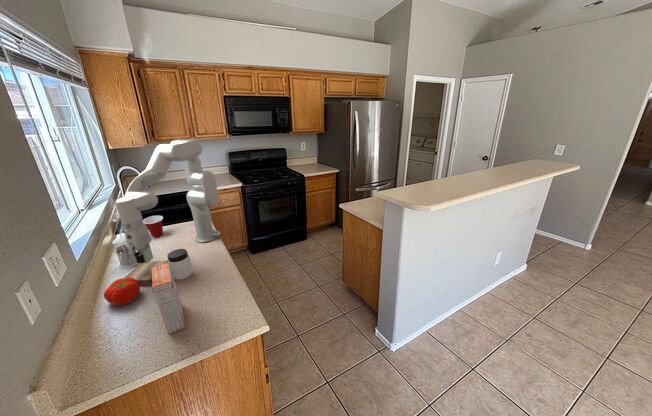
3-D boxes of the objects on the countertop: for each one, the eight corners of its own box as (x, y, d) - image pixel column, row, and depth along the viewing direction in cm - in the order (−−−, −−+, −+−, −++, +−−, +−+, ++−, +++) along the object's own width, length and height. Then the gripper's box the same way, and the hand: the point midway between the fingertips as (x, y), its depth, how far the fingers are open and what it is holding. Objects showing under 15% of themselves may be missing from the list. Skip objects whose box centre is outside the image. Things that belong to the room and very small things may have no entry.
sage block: (153, 257, 126) (149, 246, 124) (147, 263, 121) (143, 251, 119) (142, 258, 126) (139, 247, 123) (136, 263, 121) (132, 252, 119)
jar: (168, 277, 124) (162, 256, 120) (182, 268, 131) (176, 247, 127) (183, 281, 122) (177, 258, 117) (196, 271, 129) (191, 249, 124)
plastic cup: (147, 241, 159) (142, 223, 155) (147, 235, 168) (142, 218, 164) (168, 236, 165) (163, 219, 161) (166, 230, 173) (162, 214, 169)
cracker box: (165, 311, 103) (150, 267, 96) (182, 305, 106) (169, 261, 99) (167, 335, 92) (151, 287, 84) (186, 328, 95) (172, 280, 87)
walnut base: (174, 265, 134) (173, 260, 133) (158, 284, 119) (156, 279, 118) (142, 267, 133) (140, 262, 132) (122, 287, 119) (120, 281, 118)
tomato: (113, 294, 114) (106, 278, 111) (145, 287, 118) (140, 271, 115) (101, 314, 103) (94, 296, 100) (138, 305, 107) (132, 288, 104)
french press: (139, 256, 144) (125, 214, 135) (143, 264, 136) (129, 220, 127) (117, 263, 138) (101, 220, 129) (121, 272, 130) (104, 226, 121)
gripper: (130, 232, 109) (142, 269, 115) (152, 216, 125) (162, 249, 131) (111, 233, 108) (124, 270, 115) (136, 217, 124) (146, 250, 131)
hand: (144, 258), depth 123 cm, fingers closed on sage block, 5 cm apart
